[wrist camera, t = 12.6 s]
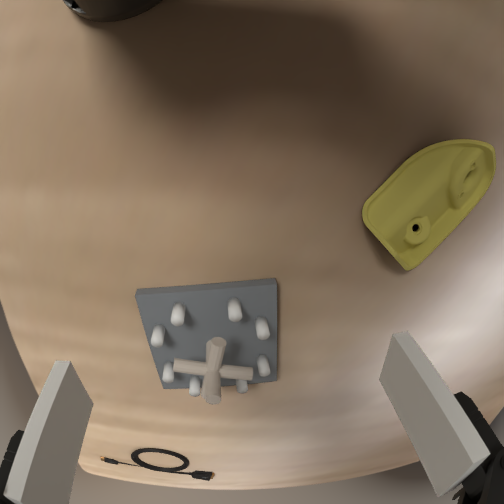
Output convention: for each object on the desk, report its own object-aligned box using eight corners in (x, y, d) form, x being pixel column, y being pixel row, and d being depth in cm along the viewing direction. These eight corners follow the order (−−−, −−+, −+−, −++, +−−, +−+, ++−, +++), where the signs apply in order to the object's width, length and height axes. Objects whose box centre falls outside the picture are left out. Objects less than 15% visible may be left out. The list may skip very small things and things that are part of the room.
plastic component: (408, 274, 40) (389, 252, 33) (379, 239, 45) (353, 212, 38) (496, 180, 34) (494, 139, 27) (462, 153, 39) (451, 111, 32)
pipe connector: (174, 364, 44) (168, 417, 34) (180, 310, 40) (172, 365, 31) (240, 372, 45) (246, 425, 36) (256, 321, 42) (266, 375, 32)
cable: (96, 432, 54) (95, 437, 52) (222, 454, 59) (222, 459, 58) (101, 457, 59) (100, 462, 57) (211, 476, 65) (211, 481, 63)
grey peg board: (137, 288, 39) (129, 308, 35) (275, 278, 41) (281, 296, 37) (164, 382, 47) (161, 403, 43) (275, 374, 48) (279, 394, 44)
